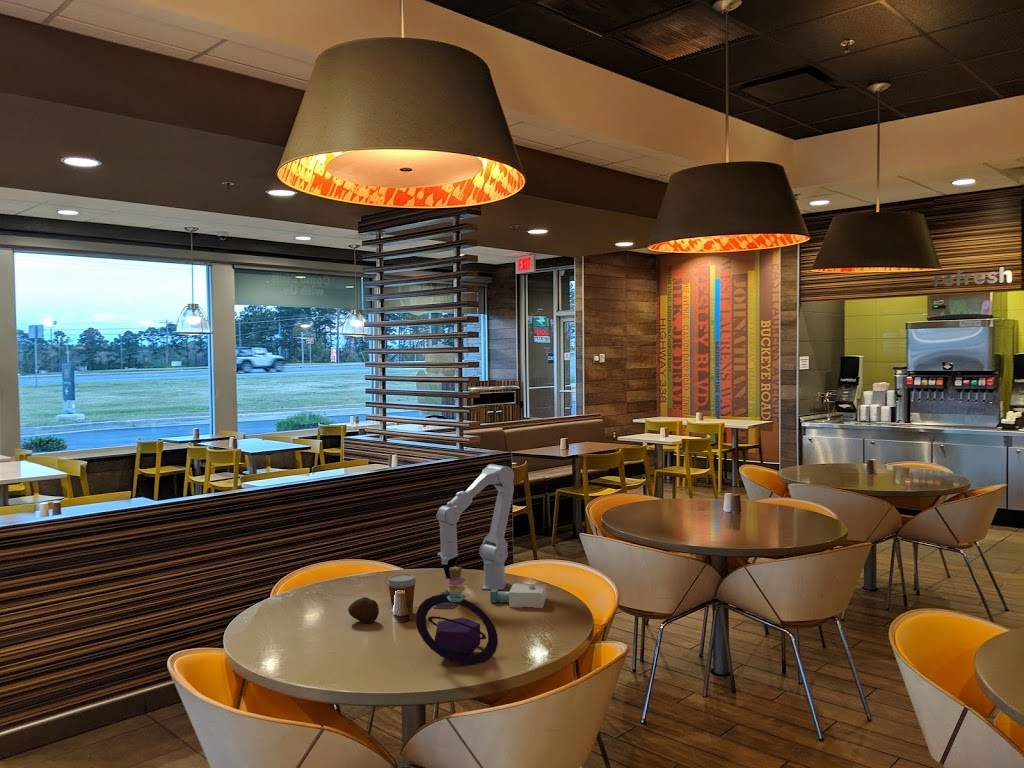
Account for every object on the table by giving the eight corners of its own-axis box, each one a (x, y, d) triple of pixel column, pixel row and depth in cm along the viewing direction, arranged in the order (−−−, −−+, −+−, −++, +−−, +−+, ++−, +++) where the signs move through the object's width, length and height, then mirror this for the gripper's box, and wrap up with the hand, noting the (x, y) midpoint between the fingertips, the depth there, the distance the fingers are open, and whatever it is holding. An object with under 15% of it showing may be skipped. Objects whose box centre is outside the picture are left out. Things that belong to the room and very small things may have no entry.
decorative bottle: (442, 677, 209) (440, 583, 208) (404, 654, 226) (401, 567, 224) (511, 656, 222) (509, 568, 221) (470, 635, 239) (468, 553, 238)
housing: (513, 597, 274) (513, 581, 273) (546, 598, 272) (545, 581, 272) (509, 607, 264) (508, 589, 264) (542, 608, 262) (542, 590, 262)
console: (443, 594, 280) (443, 588, 280) (462, 594, 279) (462, 588, 279) (433, 608, 265) (432, 601, 265) (452, 608, 264) (452, 602, 264)
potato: (376, 626, 249) (375, 601, 249) (345, 626, 250) (344, 601, 249) (382, 618, 256) (381, 594, 256) (352, 618, 257) (351, 594, 257)
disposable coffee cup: (415, 618, 255) (414, 581, 255) (385, 618, 256) (384, 582, 255) (419, 608, 265) (418, 573, 264) (390, 609, 265) (389, 573, 265)
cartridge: (492, 599, 272) (491, 588, 271) (535, 600, 269) (535, 589, 269) (490, 602, 268) (490, 591, 268) (534, 603, 266) (534, 592, 266)
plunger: (442, 598, 270) (442, 591, 270) (450, 598, 269) (450, 591, 269) (440, 601, 267) (440, 594, 267) (448, 601, 267) (448, 594, 267)
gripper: (442, 535, 282) (443, 573, 283) (432, 545, 268) (433, 585, 268) (461, 535, 281) (463, 573, 282) (452, 546, 267) (453, 585, 267)
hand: (450, 579), depth 275 cm, fingers closed
